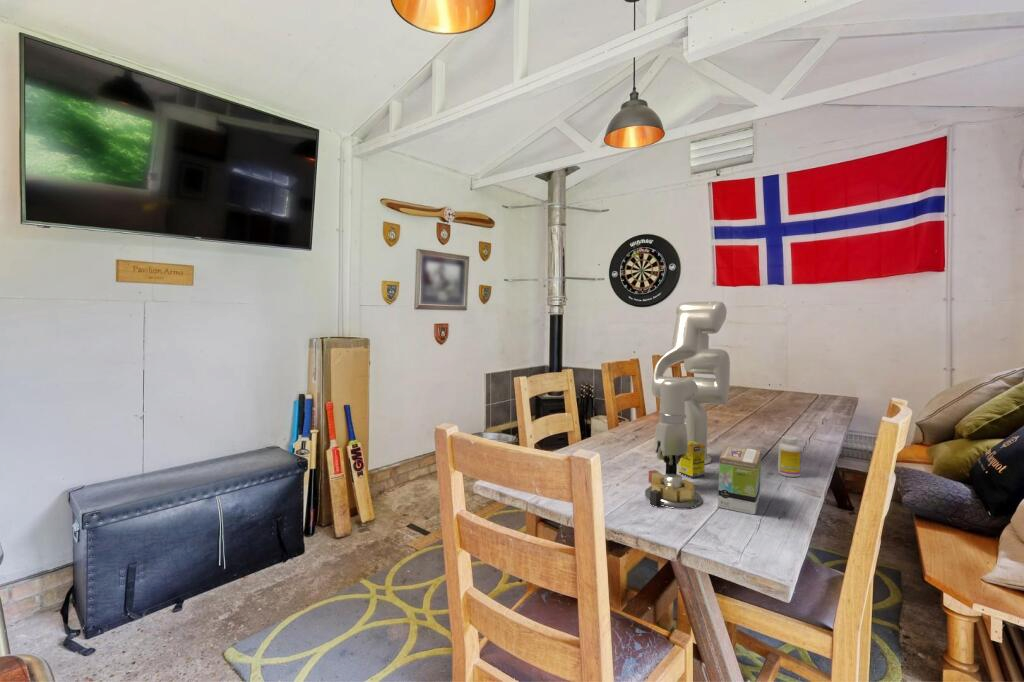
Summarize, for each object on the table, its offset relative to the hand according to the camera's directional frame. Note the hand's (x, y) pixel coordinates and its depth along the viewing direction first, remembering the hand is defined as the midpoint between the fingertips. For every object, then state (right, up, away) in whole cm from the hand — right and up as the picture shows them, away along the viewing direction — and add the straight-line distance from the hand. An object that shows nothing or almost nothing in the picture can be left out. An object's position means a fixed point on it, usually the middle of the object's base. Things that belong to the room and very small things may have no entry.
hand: (671, 475), depth 147 cm
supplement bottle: (+45, -3, +12) cm, 46 cm away
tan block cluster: (-3, -3, -6) cm, 8 cm away
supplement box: (+11, -3, +11) cm, 16 cm away
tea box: (+16, -5, -12) cm, 20 cm away
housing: (-2, -4, -9) cm, 10 cm away
